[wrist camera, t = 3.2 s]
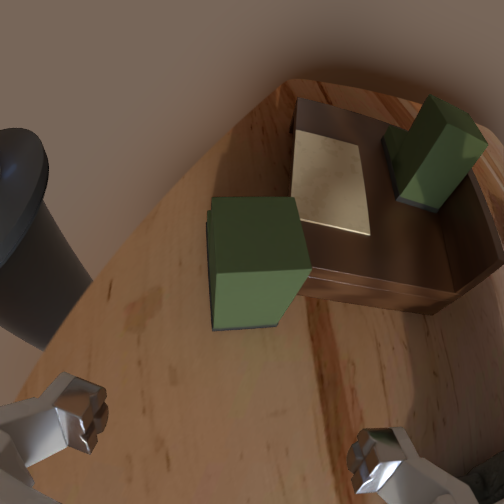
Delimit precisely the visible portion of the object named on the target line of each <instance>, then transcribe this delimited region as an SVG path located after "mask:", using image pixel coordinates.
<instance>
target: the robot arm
mask: <svg viewBox="0 0 504 504" xmlns="http://www.w3.org/2000/svg"><path fill="white" fill-rule="evenodd" d="M0 172H1V169H0ZM106 397H107V393H106V389H105V388H104V387H102V386H99V385H97V384H94V383H91V382H89V381H86V380H84V379H81V378H79V377H76V376H73V375H71V374H69V373H66V372H63V373H60V374H59V376H58V377H57V378H56V379H55V380H54V381H53V382H52V383H51V384H50V386H49V387H48V388H47V389H46V390H45V391H44V392H43V393H42V395H41V396H40V397H39V398H38V399H37V398H35V397H33V398H30V399H26V400H22V401H19V402H15V403H11V404H8V405H4V406H0V504H62V503H60V502H58V501H56V500H54V499H52V498H50V497H48V496H46V495H44V494H42V493H41V492H39V491H37V490H35V489H33V488H32V487H33V485H34V480H33V478H32V476H31V475H30V473H29V471H28V469H27V467H29V466H31V465H33V464H35V463H37V462H39V461H41V460H43V459H45V458H47V457H49V456H51V455H53V454H55V453H56V452H58V451H60V450H62V449H64V448H66V447H67V446H69V447H72V448H74V449H77V450H79V451H82V452H84V453H87V454H89V455H91V453H92V451H93V449H94V447H95V446H96V444H97V442H98V439H97V434H99V433H102V432H103V431H104V429H105V427H106V424H107V421H108V414H109V410H108V406H107V404H106V403H105V402H104V401H105V399H106ZM357 439H358V441H357V442H355V443H354V444H352V445H351V447H350V449H349V450H348V453H347V458H346V459H347V467H348V470H349V471H350V472H352V473H353V474H354V475H353V477H352V478H351V481H352V485H353V488H354V492H355V494H360V493H372V492H377V494H378V495H379V496H381V497H382V498H383V499H384V500H385V501H386V502H387V503H388V504H479V503H478V501H477V499H476V498H475V496H474V494H473V492H472V490H471V489H470V487H469V485H467V484H465V483H463V482H462V481H460V480H458V479H457V478H455V477H454V476H452V475H450V474H449V473H447V472H445V471H444V470H442V469H441V468H439V467H437V466H436V465H434V464H433V463H431V462H430V461H428V460H427V459H425V458H420V457H419V455H418V453H417V451H416V449H415V448H414V446H413V444H412V442H411V440H410V438H409V436H408V434H407V432H406V431H405V429H404V428H403V427H389V428H366V429H362V430H361V431H360V432H359V433H358V435H357ZM494 504H504V499H502V500H500V501H498V502H496V503H494Z"/></svg>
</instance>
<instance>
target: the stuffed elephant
mask: <svg viewBox="0 0 504 504" xmlns="http://www.w3.org/2000/svg"><path fill="white" fill-rule="evenodd" d="M457 479H458V480H460V481H462V482H463V483H465V484H467V485H469V487H470V489H471V490H472V492H473V494H474V496H475V498H476V499H477V501H478V503H479V504H494V503H496V502H498V501H500V500H502V499H504V451H502V452H500V453H498V454H496V455H495V456H493V457H492V458H490V459H489V460H487V461H486V462H484V463H482V464H480V465H478V466H477V467H475V468H473V469H472V470H471V471H470V472H469V473H468V474H467V475H466V476H463V477H458V478H457Z"/></svg>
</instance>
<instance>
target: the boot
mask: <svg viewBox="0 0 504 504" xmlns="http://www.w3.org/2000/svg"><path fill="white" fill-rule="evenodd" d="M206 239H207V260H208V278H209V294H210V309H211V323H212V331H224V330H240V329H254V328H266V327H276V326H277V325H278V322H279V320H280V319H281V317H282V316H283V314H284V313H285V311H286V310H287V308H288V307H289V305H290V304H291V302H292V300H293V299H294V297H295V296H296V294H297V293H298V291H299V290H300V288H301V287H302V285H303V283H304V282H305V280H306V279H307V277H308V276H309V274H310V272H311V271H312V266H311V261H310V257H309V253H308V249H307V244H306V240H305V236H304V232H303V228H302V224H301V220H300V216H299V212H298V209H297V205H296V201H295V197H212V203H211V210H209V211H207V222H206Z"/></svg>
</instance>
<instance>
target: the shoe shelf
mask: <svg viewBox="0 0 504 504" xmlns="http://www.w3.org/2000/svg"><path fill="white" fill-rule="evenodd" d="M426 99H427V98H426ZM425 101H426V100H425ZM425 101H424V103H425ZM424 103H423V105H424ZM423 105H422V107H423ZM422 107H421V109H422ZM421 109H420V111H421ZM420 111H419V113H420ZM419 113H418V115H419ZM418 115H417V116H418ZM416 118H417V117H416ZM416 118H415V120H416ZM415 120H414V122H415ZM414 122H413V124H414ZM413 124H412V126H413ZM389 125H391V124H389V123H386V122H383V121H380V120H377V119H374V118H371V117H368V116H365V115H362V114H359V113H355V112H352V111H349V110H345V109H342V108H338V107H335V106H331V105H328V104H324V103H320V102H316V101H312V100H308V99H304V98H300V97H297V101H296V105H295V109H294V112H293V116H292V120H291V124H290V128H289V133H292V134H293V142H292V154H291V166H290V177H289V189H288V197H295V201H296V205H297V209H298V212H299V216H300V220H301V224H302V228H303V232H304V236H305V240H306V244H307V249H308V253H309V257H310V261H311V266H312V271H311V272H310V274H309V276H308V277H307V279H306V280H305V282H304V283H303V285H302V287H301V288H300V290H299V291H298V293H297V295H302V296H308V297H314V298H320V299H326V300H332V301H338V302H345V303H351V304H357V305H364V306H370V307H377V308H384V309H391V310H397V311H405V312H412V313H419V314H426V315H434V314H436V313H437V312H439V311H440V310H442V309H443V308H445V307H446V306H448V305H449V304H451V303H452V302H454V301H455V300H457V299H458V298H460V297H461V296H463V295H464V294H465V293H467V292H468V291H469V290H471V289H472V288H474V287H475V286H476V285H478V284H479V283H480V282H482V281H483V280H484V279H486V278H487V277H488V276H490V275H491V274H492V273H494V272H495V271H496V270H497V269H499V268H500V267H501V266H502V265H504V251H503V248H502V244H501V241H500V238H499V235H498V232H497V229H496V226H495V224H494V221H493V218H492V215H491V213H490V210H489V208H488V205H487V202H486V200H485V198H484V195H483V193H482V190H481V188H480V186H479V183H478V181H477V179H476V177H475V175H474V172H473V170H472V168H471V169H470V171H469V172H468V173H467V175H466V176H465V177H464V178H463V180H462V181H461V182H460V184H459V185H458V186H457V187H456V189H455V190H454V191H453V192H452V194H451V195H450V196H449V197H448V199H447V200H446V201H445V202H444V203H443V205H442V206H441V207H440V209H439V211H438V212H437V213H433V212H430V211H427V210H423V209H420V208H417V207H414V206H411V205H408V204H404V203H401V202H398V201H395V196H394V191H393V187H392V182H391V178H390V174H389V170H388V166H387V162H386V158H385V154H384V150H383V147H382V143H381V138H382V136H383V135H384V134H385V132H386V130H387V128H388V126H389ZM391 126H394V125H391ZM412 126H411V127H412ZM394 127H397V126H394ZM397 128H399V129H402V128H400V127H397ZM410 129H411V128H410ZM410 129H409V131H410ZM402 130H405V129H402ZM405 131H407V130H405ZM409 131H407V132H409Z"/></svg>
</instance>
